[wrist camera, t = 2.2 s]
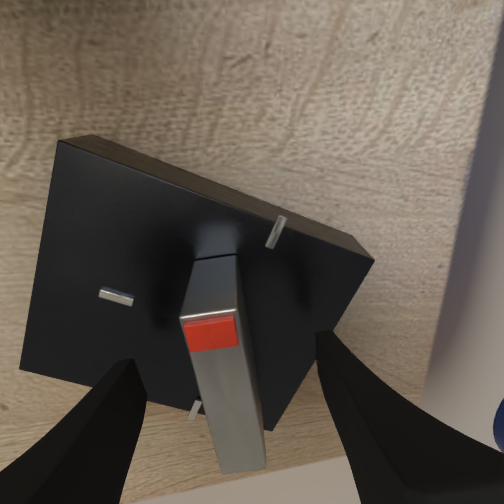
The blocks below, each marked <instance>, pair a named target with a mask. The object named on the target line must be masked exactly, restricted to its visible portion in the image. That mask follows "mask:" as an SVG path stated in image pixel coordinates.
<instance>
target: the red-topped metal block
mask: <svg viewBox="0 0 504 504" xmlns="http://www.w3.org/2000/svg"><path fill="white" fill-rule="evenodd" d="M179 320H180V323H181V327H182V331H183V334H184V338H185V342H186V345H187V349H188V353H189V356H190V360H191V363H192V367H193V371H194V374H195V378H196V382H197V385H198V389H199V393H200V396H201V400H202V403H203V407H204V411H205V414H206V418H207V422H208V425H209V429H210V433H211V436H212V440H213V444H214V447H215V451H216V454H217V458H218V462H219V465H220V469H221V472H222V474H231V473H238V472H246V471H253V470H260V469H265V468H266V467H267V462H266V450H265V439H264V427H263V416H262V404H261V393H260V385H259V380H258V374H257V368H256V362H255V356H254V350H253V345H252V339H251V333H250V327H249V321H248V316H247V310H246V304H245V298H244V292H243V287H242V281H241V275H240V269H239V263H238V258H237V256H236V255H233V256H226V257H219V258H212V259H206V260H199V261H195V262H194V264H193V268H192V272H191V275H190V279H189V282H188V286H187V290H186V293H185V297H184V301H183V304H182V308H181V312H180V315H179Z"/></svg>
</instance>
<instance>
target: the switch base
mask: <svg viewBox="0 0 504 504" xmlns="http://www.w3.org/2000/svg"><path fill="white" fill-rule="evenodd" d="M233 255H236V256H237V258H238V263H239V269H240V275H241V281H242V287H243V292H244V298H245V304H246V310H247V316H248V321H249V327H250V333H251V339H252V345H253V350H254V356H255V362H256V368H257V374H258V380H259V385H260V393H261V404H262V416H263V427H264V430H268V431H273V429H274V428H275V426H276V424H277V423H278V421H279V419H280V418H281V416H282V414H283V413H284V411H285V409H286V408H287V406H288V404H289V403H290V401H291V399H292V398H293V396H294V394H295V393H296V391H297V389H298V388H299V386H300V385H301V383H302V381H303V380H304V378H305V376H306V375H307V373H308V371H309V370H310V368H311V366H312V365H313V363H314V361H315V360H316V362H317V354H316V340H315V332H319V331H326V330H331V331H333V330H334V328H335V326H336V325H337V323H338V321H339V320H340V318H341V316H342V315H343V313H344V311H345V310H346V308H347V306H348V305H349V303H350V301H351V300H352V298H353V296H354V295H355V293H356V291H357V290H358V288H359V286H360V285H361V283H362V281H363V280H364V278H365V276H366V275H367V273H368V271H369V270H370V268H371V266H372V265H373V263H374V261H375V260H374V259H373V258H372V257H371V256H370V254H369V253H368V252H367V251H366V250H365V249H364V248H363V247H362V246H361V245H360V244H359V243H358V242H357V240H356V239H355V238H354V237H353V236H352V235H349V234H347V233H344V232H342V231H339V230H336V229H334V228H331V227H329V226H326V225H324V224H321V223H318V222H316V221H313V220H311V219H308V218H306V217H303V216H300V215H298V214H295V213H293V212H290V211H288V210H285V209H283V208H280V207H277V206H275V205H272V204H270V203H267V202H265V201H262V200H259V199H257V198H254V197H252V196H249V195H247V194H244V193H241V192H239V191H236V190H234V189H231V188H229V187H226V186H224V185H221V184H218V183H216V182H213V181H211V180H208V179H206V178H203V177H200V176H198V175H195V174H193V173H190V172H188V171H185V170H182V169H180V168H177V167H175V166H172V165H170V164H167V163H164V162H162V161H159V160H157V159H154V158H152V157H149V156H147V155H144V154H141V153H139V152H136V151H134V150H131V149H129V148H126V147H123V146H121V145H118V144H116V143H113V142H111V141H108V140H105V139H103V138H100V137H98V136H95V135H86V136H80V137H74V138H68V139H62V140H58V142H57V148H56V154H55V160H54V166H53V172H52V178H51V183H50V189H49V195H48V201H47V207H46V213H45V219H44V225H43V231H42V237H41V242H40V248H39V254H38V260H37V266H36V272H35V278H34V284H33V290H32V296H31V301H30V307H29V313H28V319H27V325H26V331H25V337H24V343H23V349H22V355H21V360H20V366H19V369H20V370H24V371H28V372H32V373H36V374H40V375H44V376H48V377H52V378H56V379H60V380H64V381H68V382H73V383H77V384H81V385H85V386H89V387H94V386H95V385H96V384H97V383H98V381H99V380H100V379H101V378H102V377H103V376H104V375H105V374H106V373H107V372H108V371H109V370H110V368H111V367H112V366H113V365H114V364H115V363H116V362H117V361H118V360H124V359H131V358H134V360H135V363H136V366H137V369H138V371H139V374H140V377H141V380H142V382H143V385H144V388H145V391H146V393H147V401H150V402H154V403H158V404H162V405H166V406H170V407H174V408H178V409H182V410H186V411H190V412H189V414H188V416H187V419H189V420H194V419H195V416H196V414H197V413H198V414H203V415H206V414H205V411H204V407H203V403H202V400H201V396H200V393H199V389H198V385H197V382H196V378H195V374H194V371H193V367H192V363H191V360H190V356H189V353H188V349H187V345H186V342H185V338H184V334H183V331H182V327H181V323H180V320H179V315H180V312H181V308H182V304H183V301H184V297H185V293H186V290H187V286H188V282H189V279H190V275H191V272H192V268H193V264H194V262H195V261H199V260H206V259H212V258H219V257H226V256H233Z"/></svg>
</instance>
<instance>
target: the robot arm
mask: <svg viewBox="0 0 504 504" xmlns="http://www.w3.org/2000/svg"><path fill="white" fill-rule="evenodd" d="M315 340H316V354H317V367H318V375H319V378H320V382H321V386H322V390H323V393H324V397H325V400H326V402H327V405H328V408H329V410H330V413H331V416H332V418H333V421H334V423H335V426H336V428H337V431H338V434H339V436H340V439H341V441H342V444H343V447H344V449H345V452H346V455H347V458H348V460H349V463H350V466H351V470H352V473H353V477H354V480H355V484H356V487H357V490H358V494H359V497H360V501H361V504H504V453H502V452H499V451H498V450H495V449H493V448H491V447H489V446H487V445H485V444H483V443H480V442H478V441H476V440H474V439H472V438H470V437H468V436H466V435H464V434H463V433H461V432H459V431H457V430H455V429H453V428H451V427H450V426H448V425H446V424H444V423H443V422H441V421H439V420H438V419H436V418H434V417H433V416H431V415H429V414H428V413H426V412H425V411H423V410H422V409H420V408H418V407H417V406H415V405H414V404H413V403H411V402H410V401H408V400H407V399H405V398H404V397H403V396H401V395H400V394H399V393H397V392H396V391H395V390H393V389H392V388H391V387H389V386H388V385H387V384H386V383H385V382H383V381H382V380H381V379H380V378H379V377H377V376H376V375H375V374H374V373H373V372H372V371H371V370H370V369H368V368H367V367H366V366H365V365H364V364H363V363H362V362H361V361H360V360H359V359H358V358H357V357H356V356H355V355H354V354H353V353H352V352H351V351H350V350H349V349H348V348H347V347H346V346H345V345H344V344H343V343H342V342H341V340H340V339H339V338H338V337H337V336H336V335H335V334H334V332H333V331H331V330H326V331H319V332H315ZM146 403H147V393H146V391H145V388H144V385H143V382H142V380H141V377H140V374H139V371H138V369H137V366H136V363H135V360H134V358H131V359H124V360H118V361H117V362H116V363H115V364H114V365H113V366H112V367H111V368H110V370H109V371H108V372H107V373H106V374H105V375H104V376H103V377H102V378H101V379H100V380H99V381H98V383H97V384H96V385H95V386H94V387H93V388H92V389H91V390H90V391H89V392H88V393H87V394H86V395H85V396H84V397H83V399H82V400H81V401H80V402H79V403H78V404H77V405H76V406H75V407H74V408H73V409H72V410H71V411H70V412H69V413H68V414H67V415H66V416H65V417H64V418H63V419H62V420H61V421H60V422H59V423H58V424H57V425H56V426H54V427H53V428H52V429H51V430H50V431H49V432H48V433H47V434H46V435H45V436H44V437H42V438H41V439H40V440H39V441H38V442H37V443H35V444H34V445H33V446H32V447H31V448H30V449H28V450H27V451H26V452H25V453H24V454H22V455H21V456H20V457H19V458H17V459H16V460H15V461H14V462H12V463H11V464H10V465H8V466H7V467H6V468H5V469H3V470H2V471H1V472H0V504H119V502H120V498H121V494H122V490H123V486H124V483H125V480H126V476H127V473H128V470H129V467H130V463H131V460H132V457H133V454H134V451H135V447H136V444H137V441H138V438H139V434H140V431H141V427H142V424H143V420H144V414H145V409H146Z"/></svg>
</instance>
